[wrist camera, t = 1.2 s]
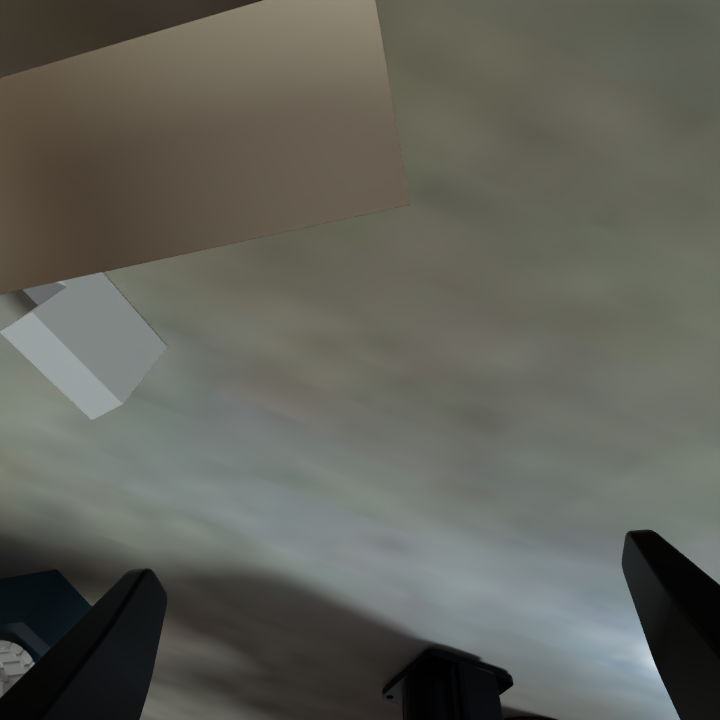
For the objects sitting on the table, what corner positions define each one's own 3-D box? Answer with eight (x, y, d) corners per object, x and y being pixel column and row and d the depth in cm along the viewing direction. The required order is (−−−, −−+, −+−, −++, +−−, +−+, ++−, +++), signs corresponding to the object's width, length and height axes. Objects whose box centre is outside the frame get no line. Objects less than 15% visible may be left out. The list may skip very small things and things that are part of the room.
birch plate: (380, 37, 14) (369, -31, 4) (393, 111, 15) (409, 204, 5) (177, 92, 15) (-239, 148, 5) (202, 158, 16) (-106, 317, 6)
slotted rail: (167, 346, 20) (122, 404, 17) (140, 361, 21) (91, 420, 17) (-93, 49, 15) (-233, 43, 12) (-120, 77, 15) (-264, 79, 12)
